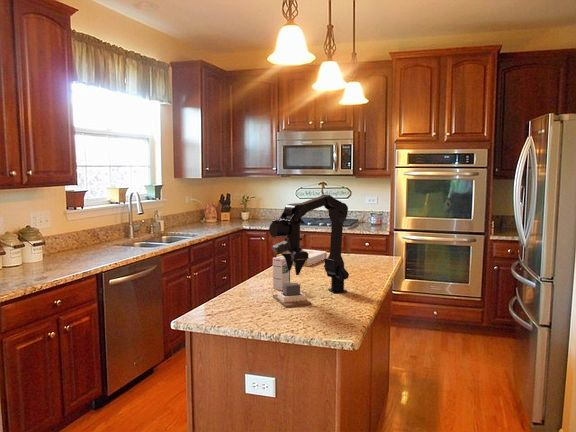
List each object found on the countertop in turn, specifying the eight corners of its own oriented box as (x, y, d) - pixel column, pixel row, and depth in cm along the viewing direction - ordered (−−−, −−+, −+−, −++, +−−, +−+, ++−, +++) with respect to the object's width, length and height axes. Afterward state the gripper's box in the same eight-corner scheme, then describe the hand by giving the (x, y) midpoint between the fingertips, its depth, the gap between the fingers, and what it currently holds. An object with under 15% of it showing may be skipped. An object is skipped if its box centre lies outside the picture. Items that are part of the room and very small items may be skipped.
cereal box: (276, 254, 270) (297, 247, 295) (275, 263, 270) (297, 255, 295) (307, 258, 260) (327, 250, 285) (307, 268, 261) (327, 259, 286)
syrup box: (281, 290, 209) (281, 258, 208) (272, 288, 213) (272, 257, 212) (290, 288, 213) (290, 257, 212) (281, 286, 217) (281, 255, 216)
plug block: (283, 298, 193) (283, 283, 193) (296, 296, 195) (296, 282, 195) (286, 300, 190) (286, 286, 189) (300, 299, 192) (300, 284, 191)
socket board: (272, 297, 198) (272, 290, 198) (296, 295, 202) (296, 288, 202) (285, 307, 183) (285, 300, 183) (311, 305, 187) (311, 297, 187)
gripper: (267, 233, 196) (267, 269, 198) (282, 239, 179) (282, 279, 180) (292, 231, 200) (292, 267, 202) (309, 237, 183) (308, 276, 184)
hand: (293, 272), depth 192 cm, fingers open, 9 cm apart
